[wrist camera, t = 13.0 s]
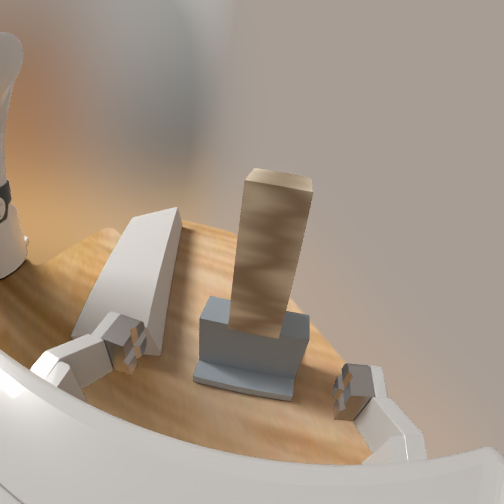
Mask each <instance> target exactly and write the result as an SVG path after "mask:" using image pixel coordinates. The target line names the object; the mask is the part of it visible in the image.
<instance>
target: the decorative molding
mask: <svg viewBox="0 0 504 504" xmlns="http://www.w3.org/2000/svg"><path fill="white" fill-rule="evenodd" d="M181 230H182V221H181V218H180V214H179V210H178V207H175V208H171V209H166V210H163V211H158V212H154V213H149V214H145V215H141V216H138V217H133V218H132V220H131V221H130V223H129V224H128V226H127V228H126V229H125V231H124V233H123V234H122V236H121V238H120V239H119V241H118V243H117V245H116V246H115V248H114V250H113V252H112V253H111V255H110V257H109V259H108V261H107V262H106V264H105V266H104V268H103V270H102V272H101V274H100V276H99V277H98V279H97V281H96V283H95V285H94V287H93V289H92V291H91V293H90V295H89V297H88V299H87V301H86V303H85V305H84V308H83V310H82V312H81V314H80V316H79V318H78V321H77V323H76V325H75V327H74V329H73V332H72V334H71V337H72V339H73V340H74V339H77V338H79V337H81V336H84V335H86V334H90V335H91V334H92V333H93V331H94V330H95V329H96V328H97V326H98V325H99V324H100V323H101V322H102V320H103V319H104V318H105V317H106V315H107V314H108V313H109V312H111V311H113V312H116V313H119V314H122V315H125V316H128V317H131V318H134V319H137V320H140V321H142V322H144V326H145V329H144V331H143V333H144V334H145V335H146V338H147V345H146V348H145V352H144V354H143V355H154V356H161V351H162V343H163V335H164V328H165V321H166V314H167V308H168V301H169V295H170V289H171V283H172V277H173V272H174V266H175V260H176V255H177V250H178V245H179V240H180V235H181Z"/></svg>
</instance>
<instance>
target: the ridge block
mask: <svg viewBox="0 0 504 504" xmlns="http://www.w3.org/2000/svg"><path fill="white" fill-rule="evenodd" d="M230 303H231V300H227V299H222V298H218V297H213V296H210V297H209V299H208V301H207V303H206V306H205V308H204V310H203V312H202V314H201V316H200V327H199V362H198V364H197V367H196V369H195V372H194V374H193V381H194V382H198V383H201V384H205V385H209V386H213V387H218V388H222V389H226V390H231V391H235V392H240V393H245V394H250V395H255V396H261V397H267V398H273V399H279V400H285V401H291V399H292V397H293V389H294V378H295V376H296V373H297V371H298V368H299V366H300V363H301V361H302V358H303V355H304V353H305V350H306V347H307V345H308V342H309V315H306V314H300V313H294V312H288V311H286V312H285V316H284V320H283V324H282V328H281V331H280V335H279V339H277V338H272V337H266V336H261V335H256V334H251V333H246V332H241V331H236V330H231V329H228V321H229V312H230Z"/></svg>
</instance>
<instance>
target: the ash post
mask: <svg viewBox="0 0 504 504" xmlns="http://www.w3.org/2000/svg"><path fill="white" fill-rule="evenodd" d="M312 196H313V188H312V183H311V178H309V177H304V176H299V175H293V174H288V173H282V172H277V171H271V170H264V169H258V168H254V170H253V171H252V172H251V173H250V174H249V176H248V177H247V178H246V179H245V182H244V190H243V198H242V206H241V215H240V223H239V232H238V240H237V249H236V257H235V266H234V275H233V284H232V293H231V303H230V312H229V321H228V329H231V330H236V331H241V332H246V333H251V334H256V335H261V336H266V337H272V338H277V339H279V335H280V331H281V328H282V324H283V320H284V316H285V312H286V308H287V305H288V301H289V297H290V293H291V289H292V285H293V280H294V276H295V272H296V268H297V264H298V260H299V255H300V251H301V246H302V242H303V238H304V233H305V229H306V224H307V219H308V215H309V210H310V205H311V201H312Z"/></svg>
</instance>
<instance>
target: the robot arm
mask: <svg viewBox="0 0 504 504" xmlns="http://www.w3.org/2000/svg"><path fill="white" fill-rule="evenodd" d="M22 61H23V49H22V45H21V43H20V41H19V39H18V38H17V37H16V36H14V35H12V34H10V33H6V32H0V279H1V278H3V277H5V276H7V275H9V274H10V273H12V272H13V271H15V270H16V269H17V268H18V267H19V266H20V265H21V264H22V263H23V262H24V260H25V259H26V256H27V249H26V247H27V245H28V243H29V240H28V237H27V236H24V235H23V232H22V228H21V225H20V221H19V217H18V213H17V209H16V207H15V206H14V205H12V204H11V203H10V201H11V193H10V192H11V190H10V186H9V181H8V180H7V179H6V168H5V152H4V136H5V135H4V134H5V126H6V119H7V114H8V109H9V104H10V99H11V94H12V89H13V85H14V82H15V79H16V77H17V75H18V73H19V71H20V69H21V66H22ZM144 329H145V326H144V322H142V321H140V320H137V319H134V318H131V317H128V316H125V315H122V314H119V313H116V312H113V311H111V312H109V313H108V314H107V315H106V317H105V318H104V319H103V320H102V322H101V323H100V324H99V325H98V326H97V328H96V329H95V330H94V331H93V333H92V334H91V335H90V334H86V335H84V336H81V337H79V338H77V339H74V340H72V341H69V342H67V343H64V344H62V345H59V346H57V347H54V348H52V349H49V350H46V351H45V352H44V353H43V354H42V355H41V357H40V358H39V359H38V360H37V361H36V363H35V364H34V365H33V366H32V368H31V369H30V370H29V369H27V368H26V367H24V366H23V365H21V364H20V363H18V362H17V361H16V360H14V359H13V358H11V357H10V356H9V355H7V354H6V353H5V352H3V351H2V350H1V349H0V504H504V455H503V454H501V453H500V452H499V451H498V450H497V449H496V448H494V447H492V446H485V447H481V448H478V449H474V450H470V451H466V452H463V453H457V454H453V455H448V456H443V457H438V458H431V459H427V453H426V447H425V442H424V436H423V433H422V432H421V431H420V430H419V429H418V428H417V427H416V425H415V424H414V423H413V422H412V421H411V420H410V419H409V418H408V417H407V415H406V414H405V413H404V412H403V411H402V410H401V409H400V408H399V407H398V405H397V404H396V403H395V402H394V401H393V400H392V399H391V398H388V396H387V391H386V386H385V381H384V376H383V372H382V368H381V367H380V366H368V365H358V364H348V363H346V364H345V365H344V366H343V368H342V374H341V375H339V376H338V377H337V379H336V381H335V384H334V389H333V398H334V399H335V400H336V401H337V402H336V403H335V405H334V420H344V421H353V423H354V425H355V426H356V428H357V429H358V431H359V433H360V434H361V436H362V437H363V439H364V441H365V442H366V444H367V445H368V447H369V449H370V450H371V452H372V453H373V454H372V455H370V456H369V457H368V458H367V459H365V460H364V461H363V462H362V465H326V464H308V463H296V462H286V461H278V460H270V459H263V458H257V457H251V456H245V455H240V454H235V453H230V452H225V451H221V450H216V449H212V448H208V447H204V446H200V445H196V444H193V443H189V442H186V441H182V440H179V439H175V438H172V437H169V436H166V435H163V434H160V433H157V432H154V431H151V430H149V429H146V428H143V427H140V426H138V425H135V424H133V423H130V422H128V421H125V420H123V419H120V418H118V417H116V416H113V415H111V414H109V413H107V412H104V411H102V410H100V409H98V408H96V407H94V406H92V405H90V404H88V403H86V402H87V399H86V397H85V395H84V393H83V391H82V389H84V388H85V387H87V386H88V385H90V384H92V383H93V382H95V381H97V380H98V379H100V378H102V377H103V376H105V375H107V374H108V373H110V372H112V371H113V369H114V370H117V371H120V372H123V373H125V374H128V375H131V374H132V373H133V371H134V369H135V367H136V366H137V360H136V359H138V358H140V357H142V355H143V354H144V352H145V348H146V345H147V338H146V335H145V334H144V333H143V331H144Z"/></svg>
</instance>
